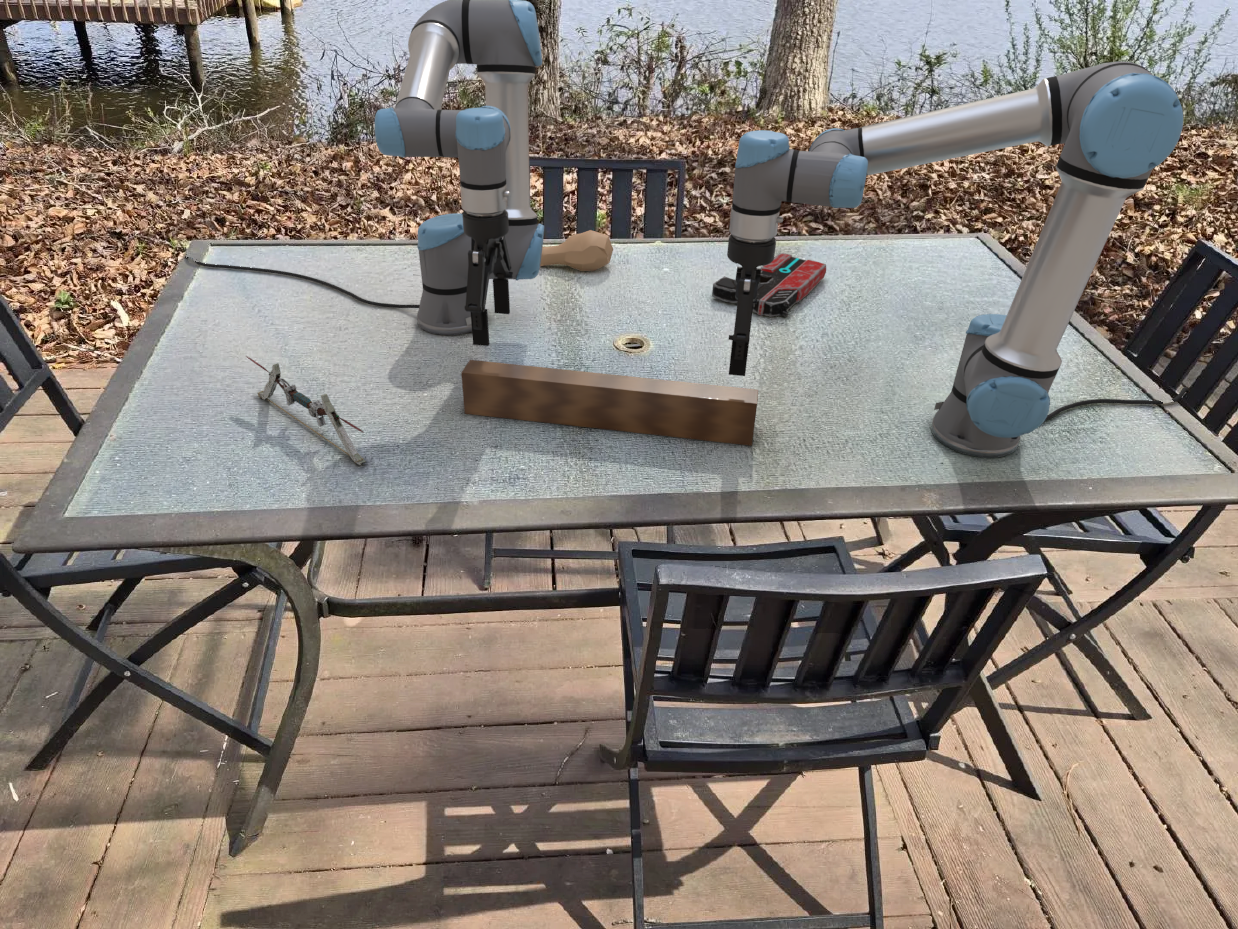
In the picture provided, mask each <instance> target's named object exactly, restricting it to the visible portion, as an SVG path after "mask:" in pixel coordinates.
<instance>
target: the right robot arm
mask: <svg viewBox="0 0 1238 929" xmlns="http://www.w3.org/2000/svg"><path fill="white" fill-rule="evenodd" d="M1183 127H1184V111H1183V107H1182V104H1181V101H1180V99H1179V97H1178V95H1177V93H1176V91H1175V90H1174V88H1172V86H1171V85H1170V84H1169V83H1168V82H1167V81H1165V80H1164V79H1162V78H1161V77H1159V76H1156V75H1154V74H1153V73H1152V72H1151V71H1150V70H1148V69H1147V68H1146V67H1144V66H1142V65H1140V64H1138V63H1134V62H1131V61H1123V60H1122V61H1121V60H1120V61H1111V62H1104V63H1100V64H1096V65H1093V66H1087V67H1085V68H1081V69H1077V70H1073V71H1070V72H1066V73H1063V74H1059V75H1054V76H1050V77H1046V78H1045V77H1044V78H1042V79H1041V81H1040V82H1039V83H1038V85H1037V86H1035V87H1033V88H1029V89H1025V90H1021V91H1015V92H1012V93H1007V94H1002V95H998V96H993V97H990V98H985V99H980V100H976V101H972V102H971V101H970V102H967V103H963V104H959V105H953V106H949V107H945V108H941V109H936V110H930V111H927V112H922V113H918V114H914V115H908V116H905V117H901V118H896V119H892V120H886V121H883V122H878V123H874V124H869V125H864V126H861V127H856V128H850V129H846V130H845V129H842V128H839V127H838V128H835V127H834V128H829V129H826V130H824V131H822V132H821V133H820V134H819V135H817V136H816V138H815V139H814V140H813V141H812V143H811V145H810V146H809V150H807V151H806V150H799V149H798V150H797V149H793V148H790V139H789V136H787V134H785V133H783V132H780V131H777V132H776V131H773V130H765V129H764V130H759V129H757V130H749V131H747V132H745V133H744V134H743V135H742V136H741V137H740V138H739V141H738V148H737V154H736V160H735V164H734V180H733V190H732V203H731V207H730V217H729V228H728V231H729V233H730V235H728V243H727V251H726V252H727V253H726V255H727V259H728V260H729V261H730V262H732V263H734V264H737V265H740V266H737V267H736V273H735V279H736V284H737V285H736V293H735V298H736V299H737V300H738V301H737V303H736V311H735V320H734V329H733V333H732V334H728V341H731V349H730V357H729V358H730V359H729V368H728V375H729V376H738V377H745V376H746V371H747V363H748V354H749V346H750V341H751V340H750V339H751V338H750V336H751V329H752V319H753V313H754V312H753V304H757V299H758V297H757V289H758V286H759V284H760V277H761V267H762V266H765V265H768V264H770V263H771V262H772V261H773V260H774V257H775V256H776V246H777V238H776V236H777V235H778V230H779V229H778V228H779V224H780V223H783V221H784V218H783V216H782V215H780V212H781V209H782V208H781V205H782V202H787V203H796V204H803V205H804V204H805V205H812V206H821V207H830V208H834V209H841V208H842V209H856V208H858V207H859V206H861V204H862V201H863V197H864V191H865V186H866V179H867V177H868V176H872V175H878V174H881V173H887V172H892V171H896V170H897V171H898V170H901V169H906V168H912V167H917V166H922V165H926V164H931V163H936V162H942V161H947V160H952V159H957V158H962V157H967V156H972V155H977V154H982V153H986V152H992V151H997V150H1002V149H1006V148H1012V147H1017V146H1022V145H1028V144H1031V143H1036V142H1038V143H1041V144H1043V145H1044V146H1046V147H1052V146H1056V145H1063V144H1064V145H1063V148H1062V150H1061V152H1060V155H1059V158H1058V160H1057V163H1056V166H1055V170H1056V172H1057V175H1058V176H1059V178H1060V182H1061V183H1060V186H1059V188H1058V190H1057V193H1056V195H1055V198H1054V200H1053V202H1052V204H1051V207H1050V209H1049V212H1048V215H1047V217H1046V219H1045V222H1044V224H1043V226H1042V229H1041V230H1040V231H1041V232H1040V233H1039V236H1038V239H1037V241H1036V243H1035V246H1034V247H1033V248H1034V249H1033V251H1032V253H1031V255H1030V257H1029V260H1028V263H1027V265H1026V268H1025V269H1024V270H1025V271H1024V272H1023V275H1022V278H1021V280H1020V283H1019V284H1018V287H1017V289H1016V292H1015V295H1014V297H1013V299H1012V302H1011V304H1010V306H1009V309H1008V312H1007V314H1001V313H1000V314H998V313H985V314H980V315H976V316H975V317H973V318H972V319H971V321H970V322H969V325H968V328H967V330H966V331H965V339H964V342H963V347H962V351H961V354H960V357H959V362H958V364H957V369H956V372H955V376H954V380H953V384H952V388H951V391H950V393H948V395H947V397H946V398H945V400H944V401H938V402H935V405H934V411H936V413H935V414H934V416H933V417H932V418H933V419H932V422H931V425H930V430H931V434H932V435H933V436H934V438H935V439H936V440H937V441H938V442H939V443H941V444H942V445H943V446H945V447H947V448H949V450H950V449H951V450H953V451H955V452H957V453H961V454H963V455H967V456H971V457H976V458H986V459H992V458H993V459H995V458H1003V457H1006V456H1009V455H1011V454H1013V453H1014V452H1015V451H1016V450H1017V449H1018V446H1019V444H1020V440H1021V436H1023V435H1026V434H1030V433H1032V432H1033V431H1035V430H1037V429H1038V428H1039V427H1041V426H1042V425H1043V424H1044V422H1046V421H1048V420H1051V419H1052V418H1053V417H1056V416H1057V415H1059V414H1061V413H1063V412H1065V411H1068V410H1071V409H1074V408H1076V407H1082V406H1087V405H1093V404H1117V405H1118V404H1119V405H1164V404H1163V402H1161V401H1159V400H1160V399H1157V400H1156V399H1155V400H1156V401H1149V400H1150V399H1119V398H1095V399H1086V400H1085V399H1084V400H1081V401H1076V402H1072V403H1069V404H1066V405H1063V406H1061V407H1059V408H1057V409H1055V410H1054V411H1052V412H1051V413H1049V412H1050V405H1051V397H1050V394H1049V392H1050V389H1051V388H1052V385H1053V383H1054V381H1055V379H1056V377H1057V375H1058V373H1059V370H1060V368H1061V366H1062V364H1063V361H1062V360H1063V359H1062V357H1061V356H1060V353H1059V352H1058V350H1057V349H1058V347H1059V345H1060V342H1061V340H1062V338H1063V336H1064V334H1065V331H1066V330H1067V327H1068V325H1069V323H1070V321H1071V319H1072V317H1073V315H1074V312H1075V310H1076V308H1077V306H1078V304H1079V301H1080V299H1081V298H1082V296H1083V293H1084V290H1085V288H1086V286H1087V284H1088V282H1089V280H1090V277H1091V275H1092V273H1093V271H1094V269H1095V266H1096V264H1097V262H1098V260H1099V258H1100V256H1101V254H1102V251H1103V250H1104V247H1105V245H1106V243H1107V241H1108V239H1109V236H1110V234H1111V233H1112V230H1113V227H1114V225H1115V223H1116V221H1117V219H1118V217H1119V214H1120V212H1121V210H1122V208H1123V206H1124V204H1125V202H1126V199H1127V198H1129V197H1130V196H1133V195H1135V194H1137V193H1139V192H1142V191H1143V190H1144V188H1145V186H1146V184H1147V182H1148V180H1149V178H1150V176H1151V174H1152V172H1153V170H1154V169H1155V168H1156V167H1158V166H1160V165H1161V164H1162V163H1163V162H1164V161H1165V160H1166V159H1167V158H1168V157H1169V156H1170V155H1171V154H1172V152H1173V151H1174V150H1175V148H1176V147H1177V144H1178V143H1179V140H1180V138H1181V135H1182V132H1183ZM1186 393H1190V389H1189V387H1188V386H1184V387H1183V388H1181V390H1180V392H1179V393H1178V394H1176V396H1175V397H1173V398H1171V399H1172V400H1173V401H1174V403H1176V402H1179V401H1180V400H1181V399H1182V398H1183V397H1184V395H1185V394H1186Z"/></svg>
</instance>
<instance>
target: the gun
mask: <svg viewBox="0 0 1238 929" xmlns="http://www.w3.org/2000/svg"><path fill="white" fill-rule="evenodd" d="M760 268H761V277H760V284H759V286H758V289H757V297H758V299H757V304H753V312H752V313H755V314H757V315H758V316H760V317H761V316H765V317H770V318H771V317H777V316H780V317H784V318H787V317H788V315H789V311H788V310H790V309H791V308H792V307H793V306H794V305H795V304H798V303H799V302H801V301H802V300H803V299H804V298H805V297H807V296H808V295H809V294H810V293H811V292H812V291H813V290H814V289H815V287H817V285H818V284H820V283H821V282H822V280H823V279H824V278H825V276H826V273H827V264H826V263H823V262H820V261H816V260H812V259H802V258H799V257H795V256H793V255H792V254H791V253H784V252H780V253H778V254H777V255H774V260H773V261H772V262H771V263H770V264H768V265H765V266H760ZM736 285H737V284H736V278H735V279H734V278H731V277H727V276H722V277H720V279H717V281H715V282H713V283H712V291H711V297H713V298H714V299H716V300H719V301H723V302H727V303H730V304H737V301H738V300H737V299H736V298H735V293H736Z"/></svg>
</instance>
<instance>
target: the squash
mask: <svg viewBox="0 0 1238 929" xmlns="http://www.w3.org/2000/svg"><path fill="white" fill-rule="evenodd" d="M613 252H614V247H613V244H612V242H611V240H610V236H609V235H607V234H605V233H602V232H598V231H594V230H592V229H589V230H587V231H584V232H580V233H575V234H571V235H570V236H569V237H568V238H566V239H565V241H564V242H562V243H560V244H558V245H550V246H543V247H542V255H541V263H540V267H545V266H551V265H552V266H553V265H562V266H567V267H570V268H572V269H575V270H578V271H580V272H595V271H597V270H599V269H601V268H603V267H605V266H608V265H609V264H610V262H611V261H612V260H611V259H612V256H613Z"/></svg>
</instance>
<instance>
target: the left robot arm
mask: <svg viewBox="0 0 1238 929" xmlns="http://www.w3.org/2000/svg"><path fill="white" fill-rule="evenodd" d="M407 42H408V43H407V45H408V46H407V48H408V53H409V57H408V60H407V64H406V67H405V71H404V75H403V78H402V82H401V85H400V89H399V91H398V94H397V98H396V102H395V105H394V108H393V107H392V106H391V107H388V108H380V109H378V110H377V111H376V113H375V116H374V138H375V142H376V146H377V149H378V151H379V152H380V153H381V154H382V155H384V156H387V157H388V156H389V157H400V158H456V159H458V168H459V170H458V171H459V191H460V204H461V206H460V207H461V209H462V210H463V212H462V213H459V212H457V213H446V214H441V215H436V216H433V217H431V218H428V219H426V220H424V221H423V222H422V223H421V224H420V225H419V226H418V229H417V247H416V248H417V250H418V258H419V267H420V275H421V276H420V277H421V284H422V292H421V297H420V302H419V304H397V303H385V302H377V301H372V300H368V299H365V298H362V297H360V296H358V295H357V294H355V293H353V292H351V291H349V290H346V289H344V288H343V287H340V286H338V285H335V284H332V283H330V282H327V281H324V280H322V279H318V278H315V277H312V276H307V275H304V274H299V273H295V272H289V271H284V270H277V269H270V268H263V267H262V268H260V267H254V266H253V267H252V268H250V267H251V266H241V267H240V265H231V264H217V265H215V263H207V262H202V261H199V262H196V261H195V262H194V263H195V264H196V265H199V266H200V267H201V266H202V267H207V268H215V269H216V268H217V269H218V268H219V269H230V270H241V271H249V272H250V271H251V272H259V273H260V272H261V273H269V274H276V275H282V276H288V277H294V278H299V279H303V280H307V281H311V282H314V283H317V284H320V285H323V286H326V287H328V288H331V289H333V290H336V291H339V293H340V292H341V293H343V294H345V295H347V296H349V297H352V298H353V299H355V300H357V301H358V302H361V303H363V304H367V305H370V306H375V307H381V308H393V309H418V310H417V315H416V318H417V325H418V326H419V328H420V329H421V330H423V331H424V332H427V333H430V334H433V335H440V336H459V335H465V334H469V333H471V336H472V345H473V346H480V347H481V346H482V347H489V346H490V333H489V332H490V331H489V317H488V316H489V315H488V314H489V312H488V309H487V308H486V305H487V304H486V303H487V297H488V289H489V285H490V284H489V283H490V280H492V291H493V303H494V304H493V306H494V308H493V309H494V310H493V311H494V314H500V315H501V314H502V315H510V314H511V308H510V307H511V305H510V304H511V303H510V283H509V282H510V281H509V280H515V281H516V282H517V281H521V280H533V279H535V278H537V276H538V275H539V273H540V268H541V266H540V263H541V255H542V247H544V237H545V236H544V235H545V225H544V224H542V223H538V214H537V213H536V212H535V211H534V210H533V208H531V187H530V184H531V183H530V178H531V177H530V136H529V135H530V132H529V131H530V130H529V126H530V125H529V84H530V82H531V81H532V80H533V79H534V78H535V77H536V67H537V68H538V67H540V66H542V65H543V55H542V46H541V38H540V31H539V23H538V18H537V13H536V9H535V6H534V4H532V3H531V2H530V1H527V0H444V1H442V2H440V3H438V4H435V5H434V6H433V7H431V8H429V9H428V10H426V12H424V13H423V14H422V16H420V17H419V18H418V19H417V21H416V22H415V23H414V25H413V27H412V28H411V31H410V34H409V37H408V41H407ZM463 64H464V65H466V64H467V65H476V75H477V76H478V77H479V78H480V79H481V81H483V83H484V88H485V89H484V92H485V105H483V106H480V107H472V108H471V107H470V108H465V109H442V105H443V101H444V96H445V94H446V93H445V92H446V90H447V89H446V88H447V84H448V80H449V75H450V71H451V70H453V68H454V67H455V66H456V65H463ZM185 258H186V255H185V256H184V259H185ZM189 258H190V257H188V259H189ZM205 263H206V264H205ZM229 265H230V266H229Z"/></svg>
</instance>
